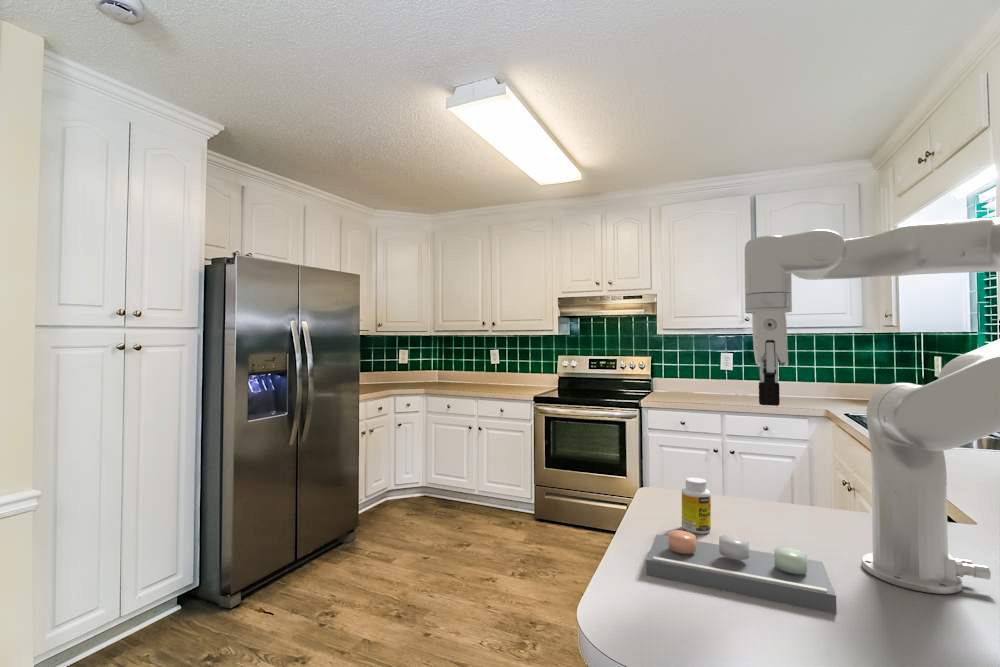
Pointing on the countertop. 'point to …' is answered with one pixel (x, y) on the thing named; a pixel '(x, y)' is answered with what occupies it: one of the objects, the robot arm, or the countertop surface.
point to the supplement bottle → (696, 506)
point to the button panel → (743, 575)
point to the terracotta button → (682, 542)
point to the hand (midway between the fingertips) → (769, 404)
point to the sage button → (790, 560)
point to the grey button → (734, 547)
